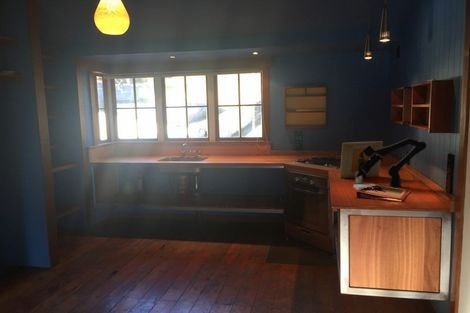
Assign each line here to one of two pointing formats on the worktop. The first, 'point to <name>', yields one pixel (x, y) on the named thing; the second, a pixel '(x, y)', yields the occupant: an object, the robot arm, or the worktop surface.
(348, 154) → the picture frame
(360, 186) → the display block
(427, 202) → the worktop surface
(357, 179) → the brown box on plinth
